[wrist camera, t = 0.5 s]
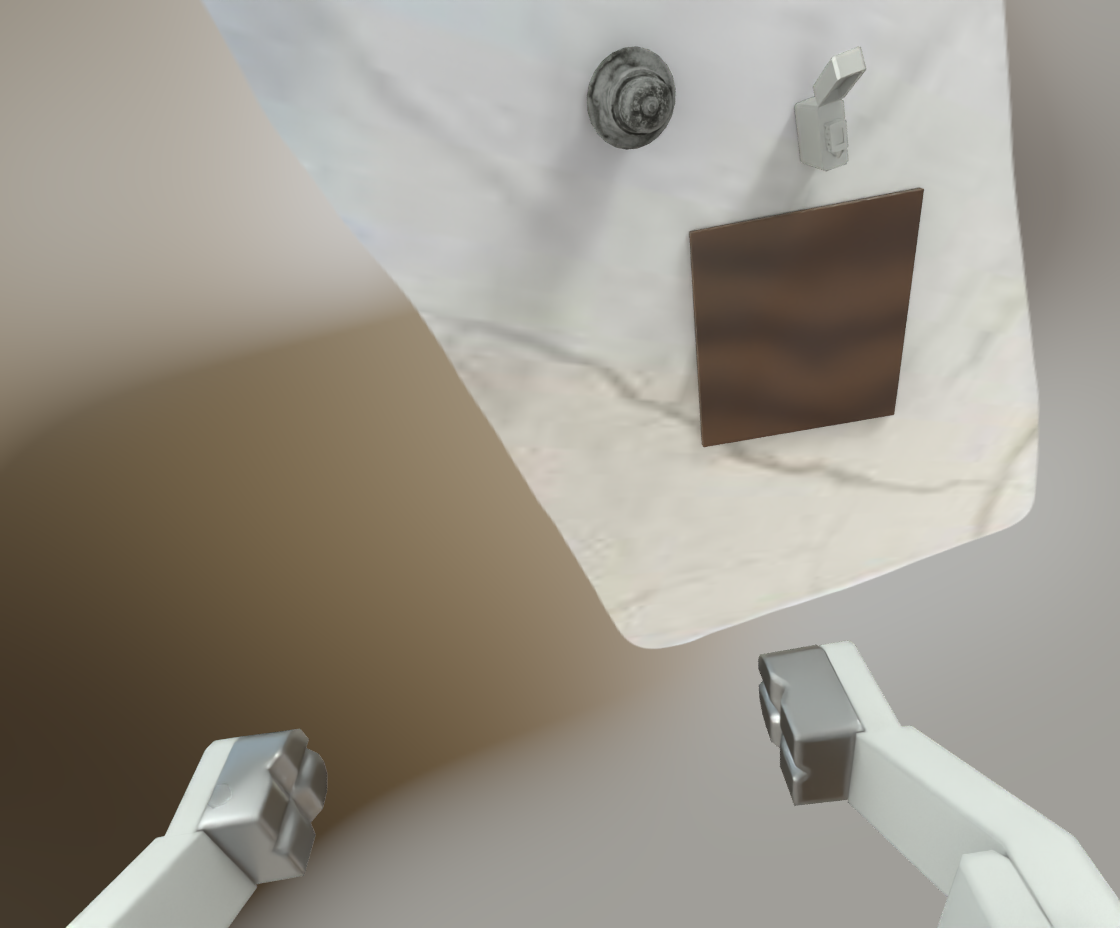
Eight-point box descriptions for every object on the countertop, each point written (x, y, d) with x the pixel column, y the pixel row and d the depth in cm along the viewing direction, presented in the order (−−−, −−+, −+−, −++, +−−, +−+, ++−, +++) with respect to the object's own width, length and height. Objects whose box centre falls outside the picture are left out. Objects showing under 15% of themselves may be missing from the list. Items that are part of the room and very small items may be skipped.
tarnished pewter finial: (568, 76, 44) (581, 80, 33) (646, 29, 42) (683, 18, 32) (604, 159, 46) (625, 185, 36) (677, 117, 45) (721, 133, 35)
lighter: (824, 155, 47) (873, 170, 40) (801, 164, 47) (846, 180, 40) (813, 48, 43) (866, 45, 37) (788, 57, 44) (836, 56, 37)
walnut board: (689, 231, 50) (690, 233, 49) (920, 187, 49) (924, 188, 48) (701, 444, 60) (703, 447, 60) (891, 412, 59) (894, 415, 59)
